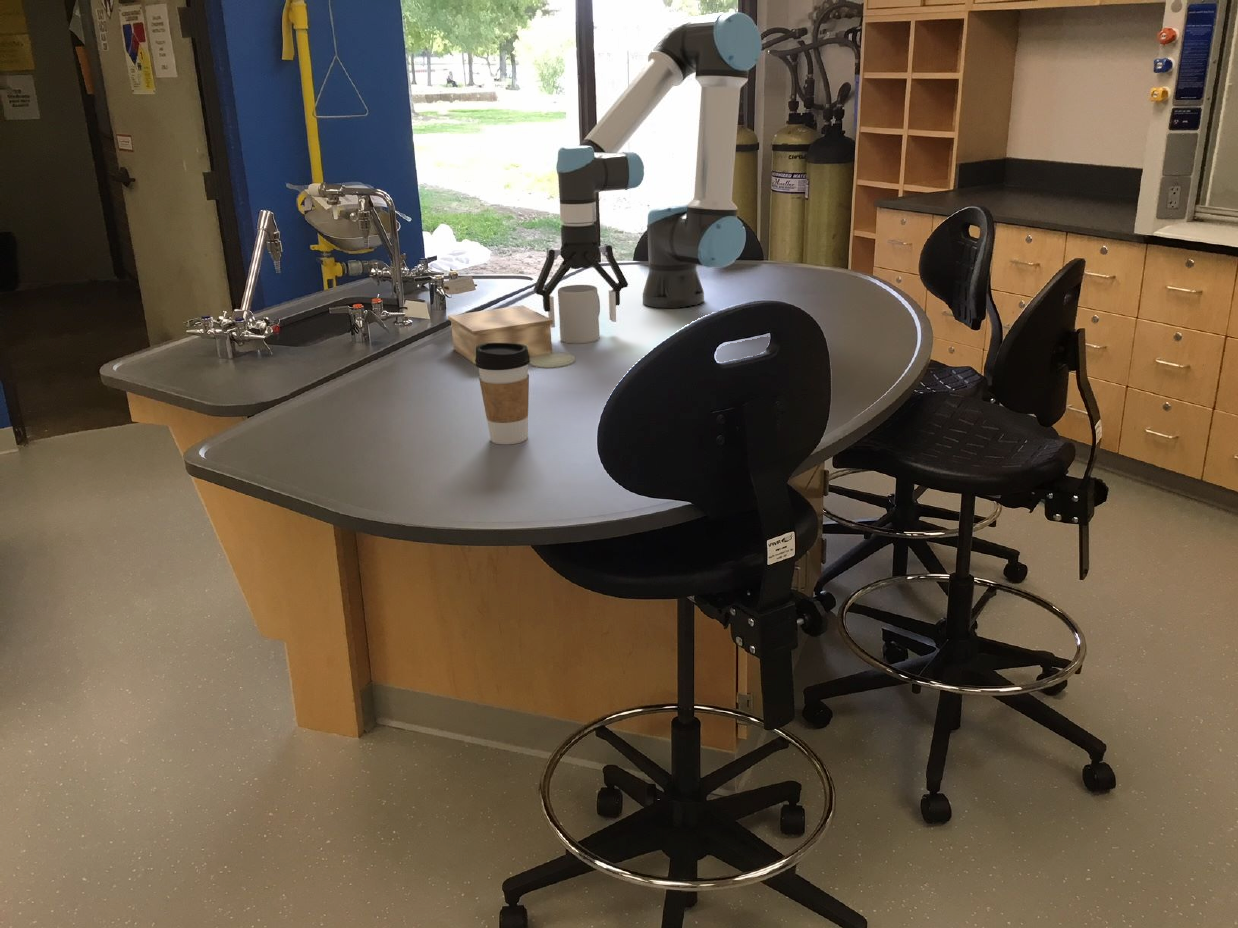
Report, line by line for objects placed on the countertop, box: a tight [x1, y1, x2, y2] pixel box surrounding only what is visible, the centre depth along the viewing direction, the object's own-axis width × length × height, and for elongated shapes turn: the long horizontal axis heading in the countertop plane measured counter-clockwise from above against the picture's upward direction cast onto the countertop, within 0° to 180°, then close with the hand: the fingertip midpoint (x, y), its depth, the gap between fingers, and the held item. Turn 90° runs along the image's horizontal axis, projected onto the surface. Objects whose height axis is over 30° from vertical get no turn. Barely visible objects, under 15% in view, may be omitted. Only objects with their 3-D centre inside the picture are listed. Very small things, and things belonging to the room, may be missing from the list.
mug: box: [557, 284, 601, 345], centre depth 218 cm, size 12×8×11 cm
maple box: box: [447, 305, 553, 365], centre depth 210 cm, size 17×17×7 cm
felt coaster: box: [529, 352, 575, 369], centre depth 202 cm, size 9×9×1 cm
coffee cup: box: [475, 343, 531, 446], centre depth 157 cm, size 8×8×15 cm
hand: (582, 323), depth 219 cm, fingers open, 13 cm apart
